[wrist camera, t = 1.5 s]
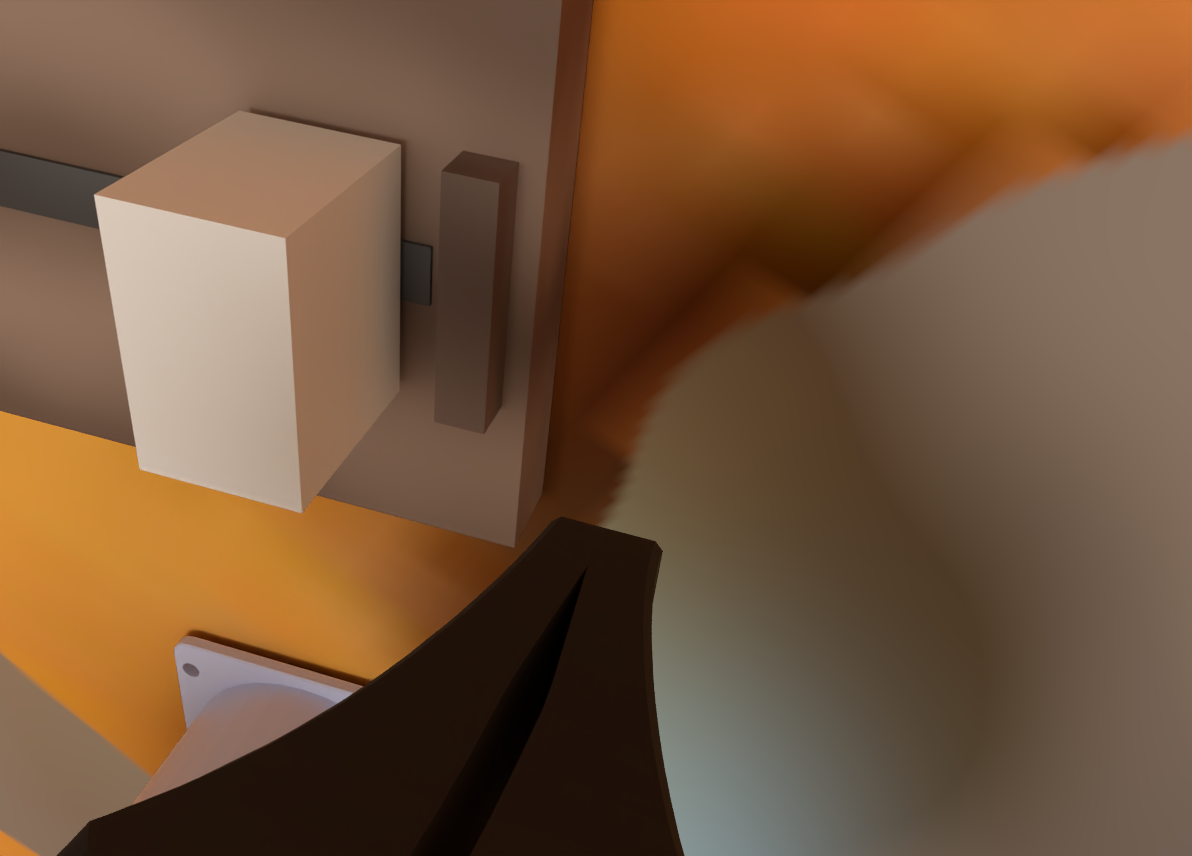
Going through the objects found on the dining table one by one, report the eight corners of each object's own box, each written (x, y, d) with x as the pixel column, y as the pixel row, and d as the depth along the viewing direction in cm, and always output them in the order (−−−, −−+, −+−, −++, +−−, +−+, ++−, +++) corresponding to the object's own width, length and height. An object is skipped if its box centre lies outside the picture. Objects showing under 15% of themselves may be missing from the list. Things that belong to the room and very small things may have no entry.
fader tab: (399, 391, 21) (301, 513, 18) (259, 356, 22) (139, 469, 19) (401, 144, 18) (285, 237, 15) (239, 110, 19) (93, 194, 16)
